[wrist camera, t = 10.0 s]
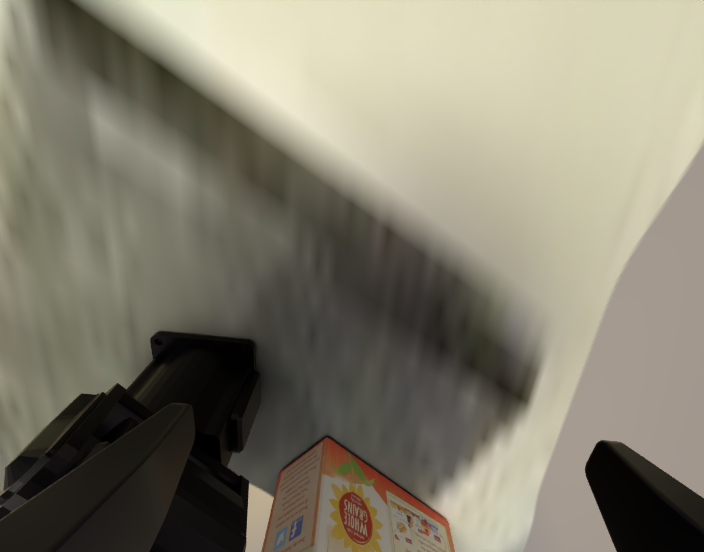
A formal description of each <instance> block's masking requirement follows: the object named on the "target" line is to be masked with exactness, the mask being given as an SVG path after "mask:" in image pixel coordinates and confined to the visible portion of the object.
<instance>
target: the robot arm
mask: <svg viewBox="0 0 704 552" xmlns="http://www.w3.org/2000/svg"><path fill="white" fill-rule="evenodd" d="M158 339H160V340H161V341H162V342H161V341H159V340H158ZM150 342H151V349H152V355H153V361H152V362H151V363H150V364H149V365H148V366H147V367H146V368H145V370H144V371H143V372H142V373H141V374H140V375H139V376H138V377H137V378H136V380H135V381H134V382H133V383H132V384H131V385H130V386H129V387H128V388H127V390H126V389H125V388H123V387H122V386H121V385H119V384H118V383H117V384H116V385H115V386H113V387H112V388H111V389H110V390H109V391H108V392H106V393H103V392H102V393H100V394H97V395H91V394H81V395H79V396H78V397H77V398H76V399H75V400H74V401H73V402H72V403H71V404H69V405H68V406H67V407H66V408H65V409H64V410H63V411H62V412H61V413H60V414H59V415H58V416H57V417H56V418H55V419H54V420H53V421H52V422H50V423H49V424H48V425H47V426H46V427H45V428H44V429H43V430H42V431H41V432H40V433H39V434H38V435H37V436H36V437H35V438H34V439H33V440H32V441H31V442H30V443H29V444H28V445H27V446H26V447H25V448H24V449H23V450H22V451H21V452H20V453H19V454H18V455H17V456H16V457H15V458H14V459H13V460H12V461H11V462H10V463H9V465H8V466H7V467H6V468H5V476H4V487H3V489H2V490H1V492H0V552H245V548H246V529H247V509H248V489H249V481H248V480H247V479H246V478H244V477H243V476H241V475H240V476H238V475H237V474H235V473H234V472H233V471H231V470H230V469H229V468H227V466H228V463H229V461H230V458H231V456H232V453H240V452H241V451H242V450H243V449H244V447H245V444H246V441H247V438H248V436H249V433H250V430H251V427H252V425H253V422H254V419H255V416H256V414H257V411H258V408H259V405H260V402H261V379H260V373H259V371H258V370H256V354H255V344H254V343H253V342H252V341H250V340H244V339H233V338H222V337H211V336H200V335H189V334H178V333H167V332H157V333H155V334H154V335H153V336H152V337H151V340H150ZM244 347H248V348H249V350H247V349H245V348H244ZM585 473H586V477H587V480H588V482H589V485H590V487H591V490H592V492H593V494H594V497H595V500H596V502H597V504H598V507H599V509H600V512H601V514H602V517H603V519H604V522H605V524H606V527H607V529H608V532H609V534H610V536H611V539H612V542H613V544H614V546H615V548H616V551H617V552H704V498H702V497H701V496H699V495H698V494H696V493H695V492H693V491H692V490H691V489H689V488H688V487H686V486H685V485H683V484H682V483H680V482H679V481H677V480H676V479H674V478H673V477H672V476H670V475H669V474H667V473H666V472H664V471H663V470H661V469H659V468H658V467H657V466H655V465H654V464H652V463H651V462H650V461H648V460H647V459H645V458H644V457H642V456H640V455H639V454H638V453H636V452H635V451H633V450H632V449H630V448H629V447H628V446H626V445H624V444H623V443H621V442H617V441H606V440H601V441H599V442H598V443H597V444H596V446H595V448H594V450H593V451H592V453H591V455H590V457H589V459H588V461H587V463H586V466H585Z"/></svg>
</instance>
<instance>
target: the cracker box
mask: <svg viewBox="0 0 704 552" xmlns="http://www.w3.org/2000/svg"><path fill="white" fill-rule="evenodd" d="M262 552H455V551H454V546H453V542H452V537H451V533H450V528H449V523H448V521H447V520H446V519H444V518H443V517H441V516H440V515H438V514H437V513H435V512H434V511H433V510H431V509H430V508H428V507H427V506H425V505H424V504H423V503H421V502H420V501H418V500H417V499H415V498H414V497H413V496H411V495H410V494H408V493H407V492H405V491H404V490H402V489H401V488H400V487H398V486H397V485H395V484H394V483H393V482H391V481H389V480H388V479H387V478H385V477H384V476H382V475H381V474H379V473H378V472H377V471H375V470H374V469H372V468H371V467H369V466H368V465H367V464H365V463H364V462H362V461H361V460H359V459H358V458H357V457H355V456H354V455H352V454H351V453H349V452H348V451H347V450H345V449H344V448H342V447H341V446H340V445H338V444H337V443H335V442H334V441H333V440H331V439H329V438H325V439H324V440H322V441H321V442H320V443H318V444H317V445H316V446H314V447H313V448H312V449H310V450H309V451H308V452H306V453H305V454H304V455H302V456H301V457H300V458H298V459H297V460H296V461H294V462H293V463H292V464H290V465H289V466H288V467H286V468H285V469H284V470H282V471H281V472H280V474H279V479H278V483H277V487H276V492H275V496H274V500H273V505H272V509H271V514H270V518H269V522H268V526H267V530H266V535H265V539H264V543H263V548H262Z"/></svg>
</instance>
